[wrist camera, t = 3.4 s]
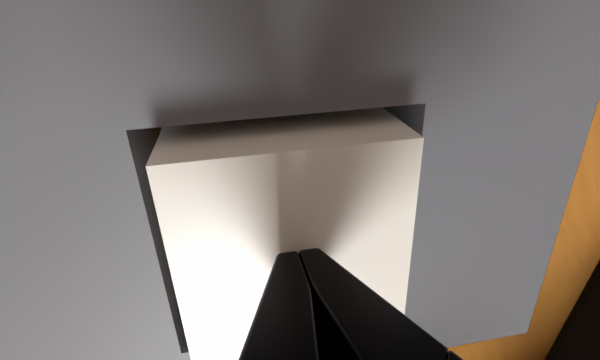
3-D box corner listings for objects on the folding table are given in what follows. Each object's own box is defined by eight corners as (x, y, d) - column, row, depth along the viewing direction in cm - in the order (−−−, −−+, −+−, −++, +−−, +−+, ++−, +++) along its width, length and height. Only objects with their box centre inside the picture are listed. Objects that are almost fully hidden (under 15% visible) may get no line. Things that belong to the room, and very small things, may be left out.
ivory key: (378, 104, 9) (424, 137, 7) (369, 269, 12) (402, 331, 9) (164, 123, 9) (144, 166, 7) (198, 294, 11) (193, 368, 9)
